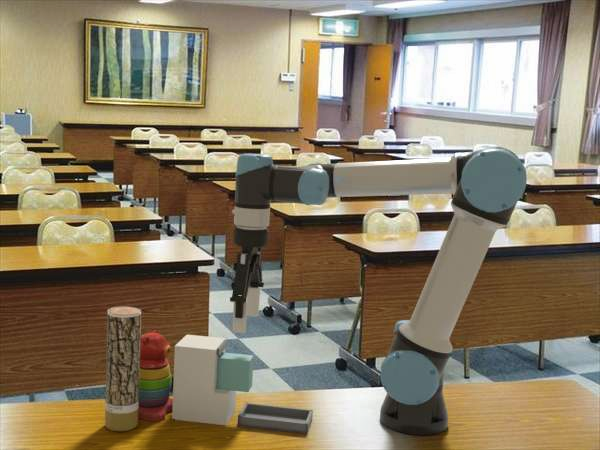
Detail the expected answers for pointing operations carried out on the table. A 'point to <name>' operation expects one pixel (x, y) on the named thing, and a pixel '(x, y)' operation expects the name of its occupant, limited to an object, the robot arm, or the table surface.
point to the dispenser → (200, 382)
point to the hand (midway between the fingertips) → (245, 323)
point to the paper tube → (122, 368)
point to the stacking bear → (154, 378)
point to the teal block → (234, 372)
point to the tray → (275, 418)
